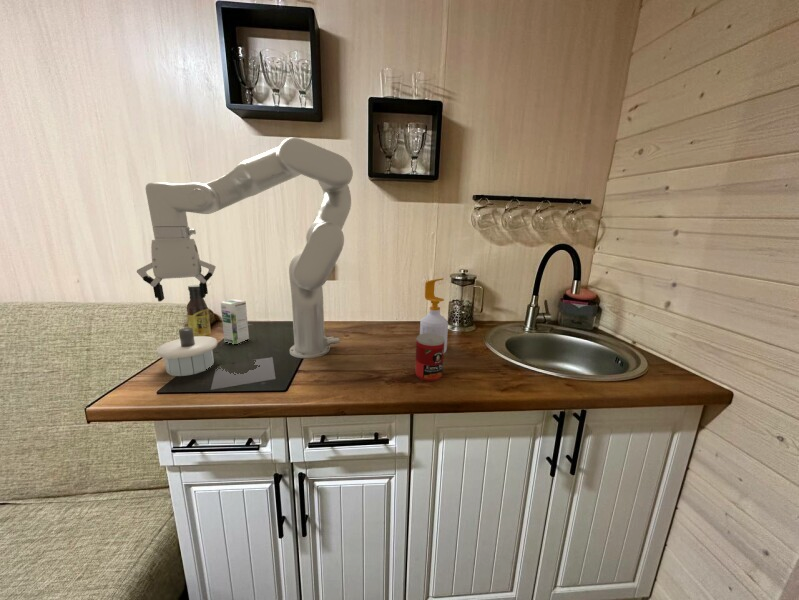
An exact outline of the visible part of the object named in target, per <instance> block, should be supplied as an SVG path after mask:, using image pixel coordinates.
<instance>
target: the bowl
mask: <svg viewBox="0 0 799 600" xmlns="http://www.w3.org/2000/svg"><path fill="white" fill-rule="evenodd" d="M163 359H164V364H165V370H166V374H168V375H170V376H173V377H175V376H176V377H184V376H191V375H197V374H199V373H202V372H205V371H207V370H209V369H210V368H212V367H213V366H214V362H215V360H214V353H213V349H212V350H211V351H208V352H206V353H203V354H200V355H196V356H192V357H186V358H177V359H168V358H163ZM212 365H213V366H212ZM211 366H212V367H211ZM209 367H210V368H209ZM208 368H209V369H208ZM206 369H207V370H206Z"/></svg>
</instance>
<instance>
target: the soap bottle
mask: <svg viewBox="0 0 799 600" xmlns="http://www.w3.org/2000/svg"><path fill="white" fill-rule="evenodd" d="M443 280H444V278H436V279H431V280H427V281H425V285H424V299H425V300H427V301H430V303H431V304H432V305H431V306H430V307H429V312H428V313H429V314H426V315H425V316H423V317H422V318H421V319H420V323H419V324H420V326H419V335H420V334H425V333H432V334H437V335H440V336H442V337H443V338H444V354H445V353H446V352H447V347H448V333H449V322H448V319H447V318H446V317H444V316H443V315H441V307H439V305H438V304H440V302H443V301H444V300H445V299H444V298H441V297H438V296H437V297H436V295H435V284H436V282H438V281H443Z"/></svg>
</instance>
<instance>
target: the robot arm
mask: <svg viewBox="0 0 799 600" xmlns="http://www.w3.org/2000/svg"><path fill="white" fill-rule="evenodd" d="M353 172H354V171H353V167H352V165H351V163H350V161H349V160H348V159H347V158H346V157H344V156H343V155H342V154H341V155H340V154H338V153H336V152H334V151H331V150H329V149H326V148H325V147H322V146H320V145H317V144H315V143H312V142H309V141H308V140H304V139H302V138H298V137H288V138H286V139H284V140H283V141H281V143H280V145H279V146H276V147H275V148H274V147H273V148H272V149H269V150H267V151H266V152H263V153H260V154H258V155H255V156H252V157H250V158H248V159H244V160H243V161H241V162H240V163H239V164H237V165H236V167H234V168H233V169H232V171H230V172H227V173H226V174H225V175H222V176H220V177H219V178H217V179H213V180H211V181H209V182H206V183H203V182H202V183H201V182H187V183H171V182H164V181H163V182H162V181H161V182H159V181H158V182H148V183H147V184H145V185H146V186H145V193H146V200H147V204H148V205H147V206H148V211H149V216H150V223H151V227H152V231H153V238H154V239H151V247H150V249H151V250H150V251H151V252H150V253H151V262H150V263H148V264H146V265H144V266H142V267H140V268H138V269H137V270H136V273H137V274H138V275H139V276H140V278H142V280H143V281H144V282H145V283H147V284H148V285H150V286H151V287H153V294H154V297H155V299H157V302H162V301H163V300H164V299H165V296H164V295H165V293H164V290H163V289H164V288H163V285H162V283H161V282H162V280H166V279H168V280H169V279H182V278H183V279H184V278H195V279H196V280H198V281H199V284H198V285H199V286H200V293H201V298H203V299H205V298H206V296H207V295H208V285H207V282H208V281H209V280H210V279H211V277H212V276H213V275H214V273H215V270H216V269H217V268H216V265H215V264H212V263H209V262H206V261H203V260H201V259H200V254H199V250H198V247H197V244H196V241H195V239H194V238H191V236H193V235H196V233H197V232H196V229H195V228H190V227H189V224H188V223H189V222H188V216H187V213H194V214H199V215H200V214H202V215H210V214H213V213H216V212H218V211H221V210H223V209H225V208H227V207H230V206H232V205H234V204H236V203H239V202H241V201H243V200H245V199H248V198H250V197H254V196H256V195H258V194H260V193H263V192H266V191H267V190H269V189H271V188H273V187H277V186H278V185H280V184H282V183H285V182H287V181H290V180H292V179H293V178H296V177H298V176H301V175H302V176H303V177H306V178H310V179H311V180H312V179H313V180H315V181H317V182H318V184H319V186H320V187H321V189H322V193H323V196H322V197H323V198H322V201H321V204H320V206H319V208H318V211H317V213H316V215H315V217H314V218H313V221H312V223H311V225H310V227H309V228H308V230H307V232H306V236H305V240H306V244H305V246H304V248H303V250H302V253H300V254H297V255H295V256H294V257H293V258H292V259H291V260H290V263H289V266H288V274H289V276H288V277H289V282H290V283H289V284H290V285H289V286H290V294H291V297H290V298H291V311H292V313H291V314H292V326H293V327H292V329H293V339H294V340H293V343H294V344H293V345H292V346H291V347H290V348H289V354H290V356H292V357H294V358H297V359H313V358H314V359H315V358H319V357H322V356H324V355H327V354H328V353H329V352H330V350H331V348H330V347H331V346H330V345H337V344H340V337H334V336H328V337H327V336H326V334H325V315H324V313H325V312H324V311H325V310H324V309H325V308H324V292H323V291H324V290H323V286H324V285H325V284H326V282H327V280H329V277H330V275H331V273H332V272H333V270H334V267H335V265H336V263H337V261H338V259H339V257H340V255H341V254H342V251H343V248H344V244H345V235H344V232H343V228H344V225H345V223H346V221H347V219H348V216H349V213H350V211H351V207H352V197H351V196H352V195H351V190H350V187H349V184H350V183H351V182H352V179H353V174H354V173H353ZM202 267H203V268H205V269H208V271H207V273H206V274H205V275H204V274H203V273H202V272H203V271H202ZM150 270H153V271H152V273H153V276H154V277H155V278H153V277H151V276H150V275H149V274H148V273H147V272H148V271H150Z"/></svg>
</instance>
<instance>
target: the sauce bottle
mask: <svg viewBox="0 0 799 600" xmlns="http://www.w3.org/2000/svg"><path fill="white" fill-rule="evenodd" d="M187 290H188V292H189V301H188V302H187V305H186V314H187V315H186V317H187V325H188V327H187V328H193V334H194V337H195V336H208V337H212V329H211V320H210V309H209V307H208V306H207V303H206V301H205V298H201V293H200V286H199V284H192V285H188V286H187Z"/></svg>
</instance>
